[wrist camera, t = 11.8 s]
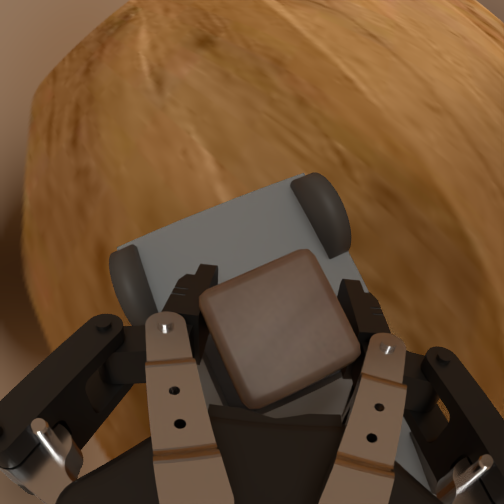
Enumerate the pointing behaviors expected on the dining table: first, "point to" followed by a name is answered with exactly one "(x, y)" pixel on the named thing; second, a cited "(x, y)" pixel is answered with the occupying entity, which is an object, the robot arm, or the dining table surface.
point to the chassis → (241, 261)
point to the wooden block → (278, 328)
